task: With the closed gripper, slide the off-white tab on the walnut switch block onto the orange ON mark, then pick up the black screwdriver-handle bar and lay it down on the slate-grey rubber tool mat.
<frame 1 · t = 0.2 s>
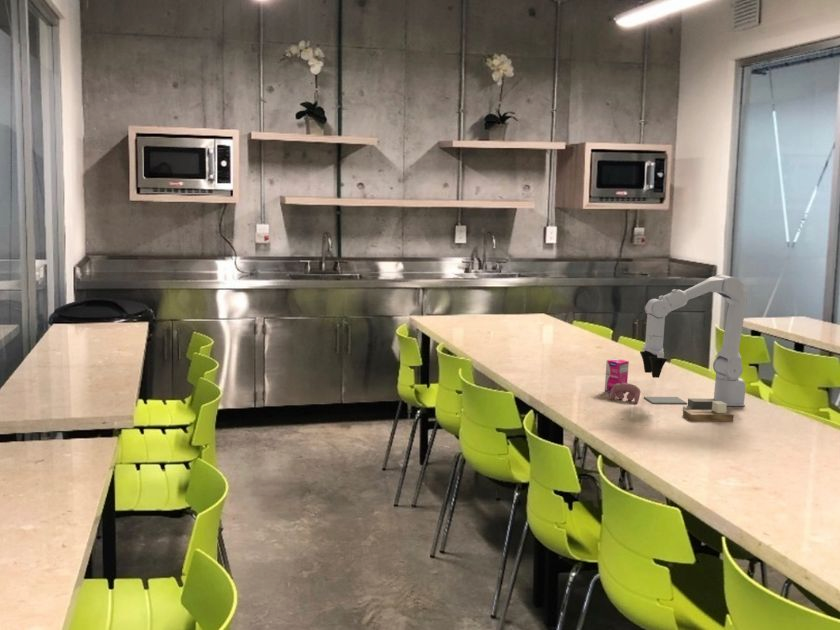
hand: (651, 374, 283), 10 cm above the table, fingers open, 7 cm apart
tool mat: (665, 401, 289), on the table
supplement box: (615, 392, 301), on the table
switch tab: (719, 407, 268), point 4 cm above the table, slide at 0.0 cm
switch block: (707, 418, 268), on the table
mauve arch: (624, 401, 289), on the table
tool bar: (702, 410, 279), on the table
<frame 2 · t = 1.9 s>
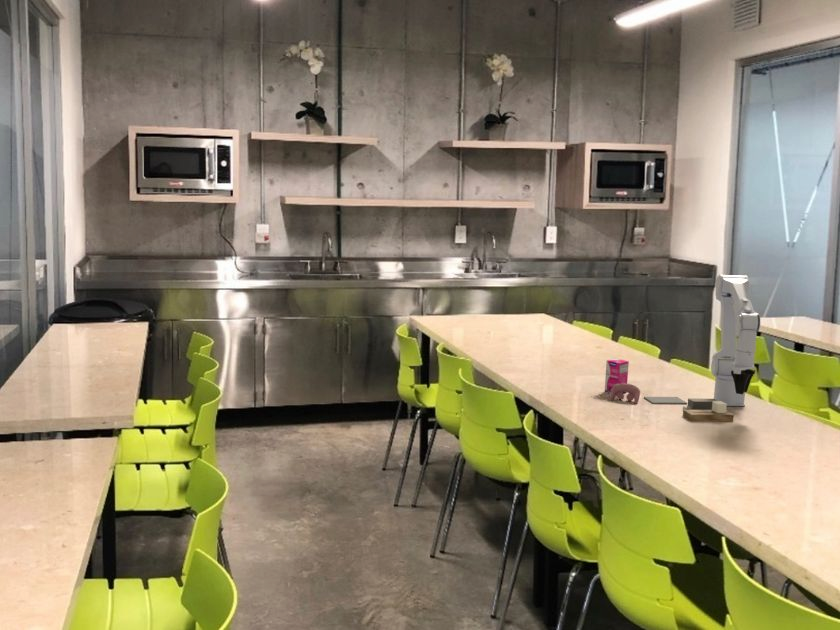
hand: (741, 392, 268), 8 cm above the table, fingers open, 3 cm apart
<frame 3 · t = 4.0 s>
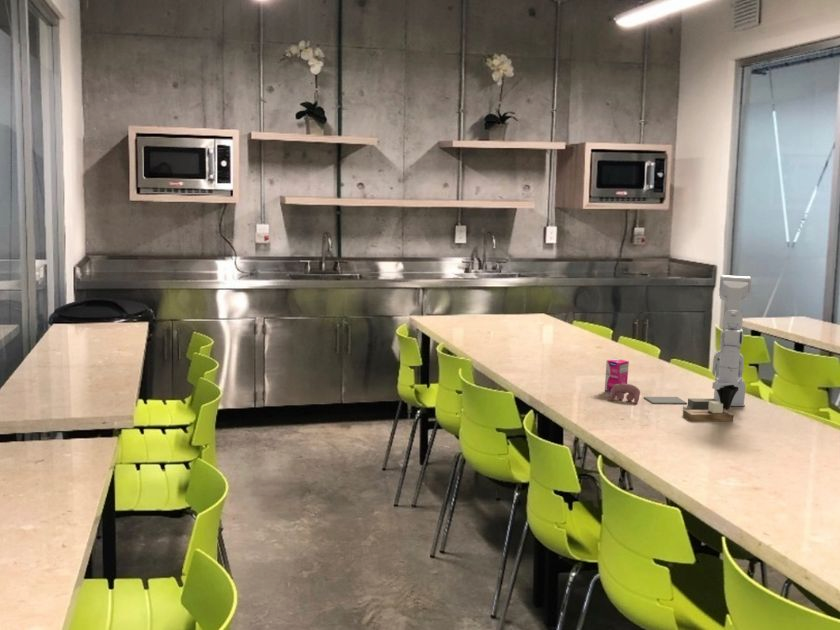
hand: (725, 408, 269), 3 cm above the table, fingers closed
switch tab: (715, 407, 268), point 4 cm above the table, slide at 1.2 cm, touching gripper
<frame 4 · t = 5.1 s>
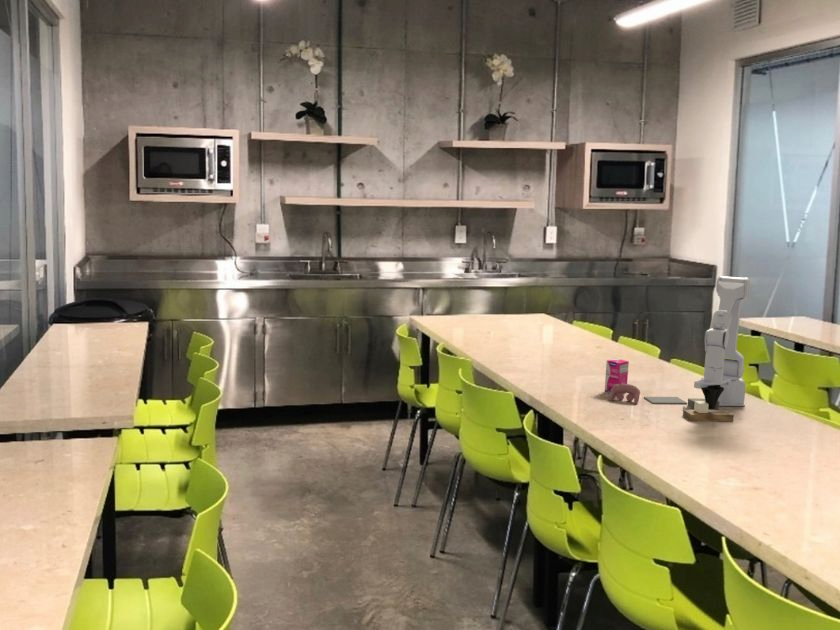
hand: (710, 408, 268), 3 cm above the table, fingers closed
switch tab: (701, 407, 268), point 4 cm above the table, slide at 6.0 cm, touching gripper
everything else where it was.
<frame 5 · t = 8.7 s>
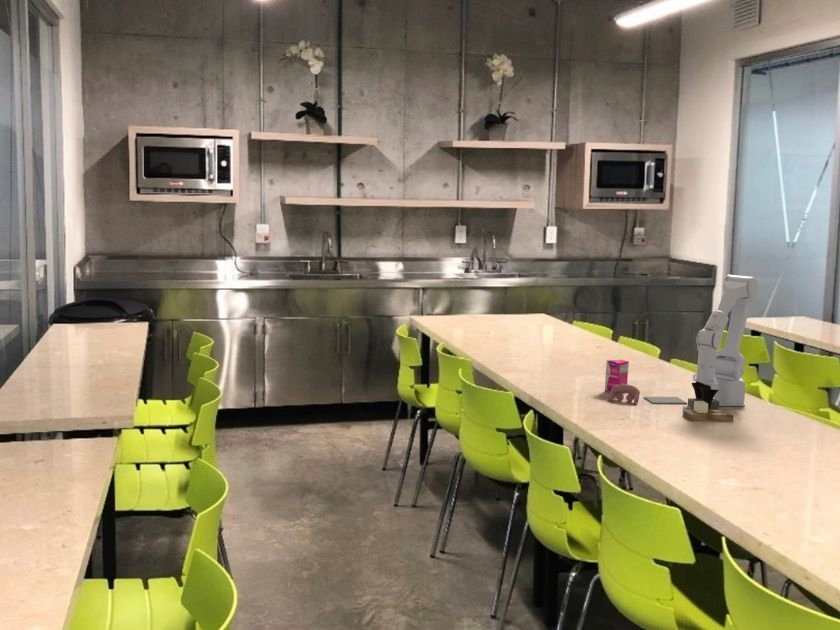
hand: (703, 406, 278), 1 cm above the table, fingers closed on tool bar, 4 cm apart
switch tab: (700, 407, 268), point 4 cm above the table, slide at 6.1 cm
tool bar: (702, 410, 279), on the table, touching gripper
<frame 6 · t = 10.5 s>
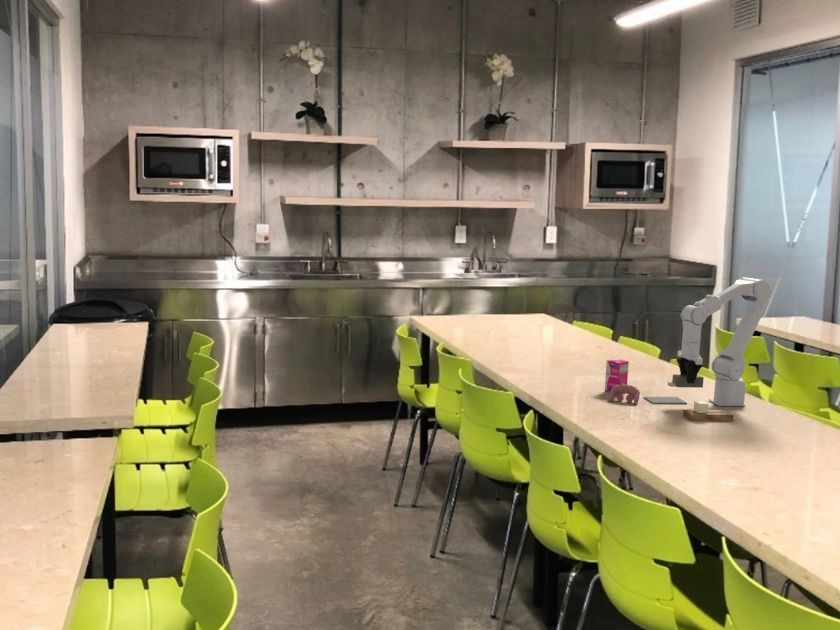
hand: (687, 381, 282), 8 cm above the table, fingers closed on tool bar, 4 cm apart
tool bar: (687, 386, 282), point 7 cm above the table, touching gripper
when the fingers open (3 cm above the table, at t = 12.4 s): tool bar drops 1 cm, resting on tool mat.
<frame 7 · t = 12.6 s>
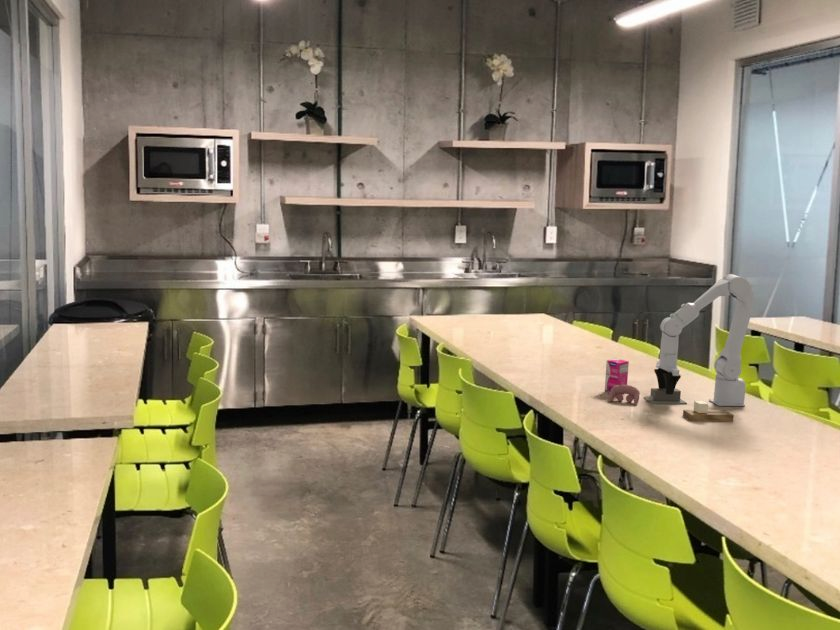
hand: (665, 391, 289), 3 cm above the table, fingers open, 6 cm apart
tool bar: (665, 399, 289), resting on tool mat
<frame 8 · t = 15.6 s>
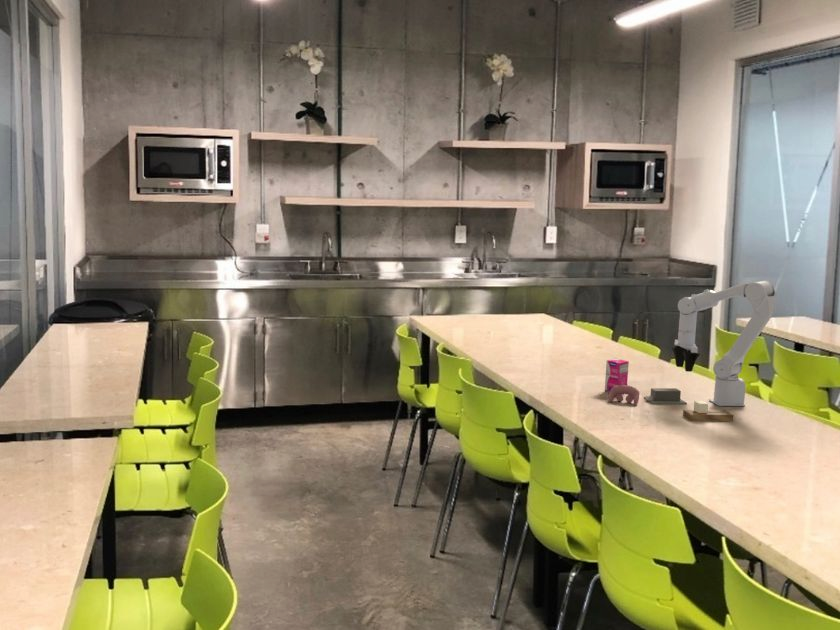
hand: (684, 369, 298), 9 cm above the table, fingers open, 7 cm apart
at the end: switch tab slide at 6.1 cm; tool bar 0.1 cm off-centre on the tool mat, point 0.5 cm above the tool mat's base; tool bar tilted 0° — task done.
